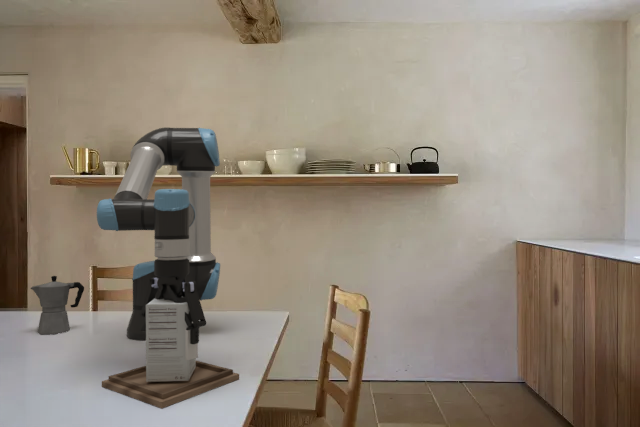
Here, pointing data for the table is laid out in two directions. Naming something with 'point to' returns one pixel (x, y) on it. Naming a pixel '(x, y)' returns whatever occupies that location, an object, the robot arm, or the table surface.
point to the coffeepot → (55, 305)
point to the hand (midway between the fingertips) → (172, 353)
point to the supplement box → (167, 342)
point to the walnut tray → (169, 384)
